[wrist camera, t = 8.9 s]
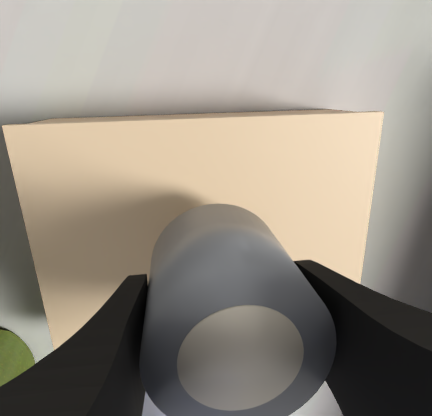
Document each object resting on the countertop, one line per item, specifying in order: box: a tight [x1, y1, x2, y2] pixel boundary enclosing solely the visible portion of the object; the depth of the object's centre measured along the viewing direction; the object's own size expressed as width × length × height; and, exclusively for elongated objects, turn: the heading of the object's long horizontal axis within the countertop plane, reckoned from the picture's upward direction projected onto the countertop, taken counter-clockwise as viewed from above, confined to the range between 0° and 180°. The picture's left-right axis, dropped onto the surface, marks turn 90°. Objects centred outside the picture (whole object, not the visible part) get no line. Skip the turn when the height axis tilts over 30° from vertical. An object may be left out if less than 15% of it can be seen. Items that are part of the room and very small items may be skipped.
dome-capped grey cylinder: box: [139, 204, 337, 416], centre depth 11 cm, size 5×5×5 cm
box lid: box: [2, 111, 384, 350], centre depth 16 cm, size 12×15×1 cm
